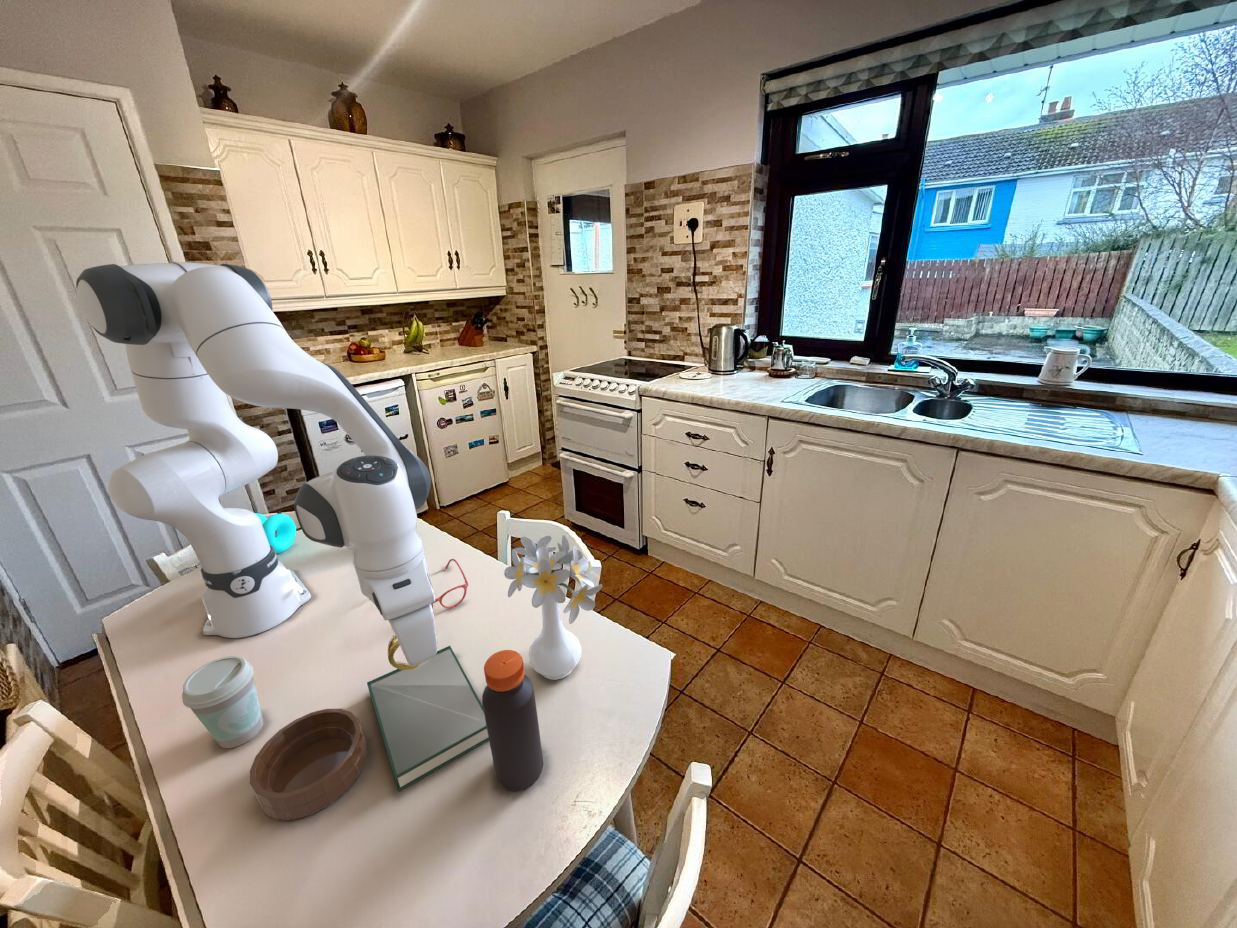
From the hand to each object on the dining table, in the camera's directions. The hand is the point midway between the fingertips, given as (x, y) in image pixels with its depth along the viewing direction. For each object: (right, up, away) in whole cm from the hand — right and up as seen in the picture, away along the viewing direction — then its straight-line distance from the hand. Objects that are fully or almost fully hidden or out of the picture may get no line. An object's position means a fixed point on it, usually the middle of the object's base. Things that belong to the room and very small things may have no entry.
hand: (412, 646), depth 73 cm
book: (0, -13, +6) cm, 14 cm away
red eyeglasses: (-11, -2, +33) cm, 35 cm away
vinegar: (+17, -17, -3) cm, 24 cm away
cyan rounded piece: (-59, +5, +53) cm, 80 cm away
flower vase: (+21, -9, +14) cm, 27 cm away
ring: (0, -4, +2) cm, 4 cm away
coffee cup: (-29, -15, +4) cm, 33 cm away
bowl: (-13, -17, -3) cm, 22 cm away
